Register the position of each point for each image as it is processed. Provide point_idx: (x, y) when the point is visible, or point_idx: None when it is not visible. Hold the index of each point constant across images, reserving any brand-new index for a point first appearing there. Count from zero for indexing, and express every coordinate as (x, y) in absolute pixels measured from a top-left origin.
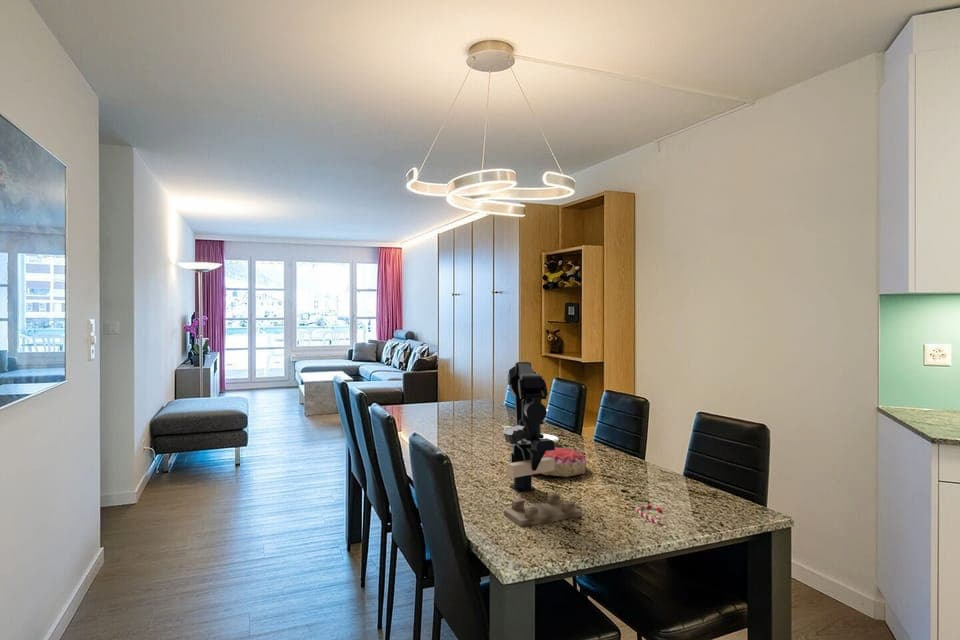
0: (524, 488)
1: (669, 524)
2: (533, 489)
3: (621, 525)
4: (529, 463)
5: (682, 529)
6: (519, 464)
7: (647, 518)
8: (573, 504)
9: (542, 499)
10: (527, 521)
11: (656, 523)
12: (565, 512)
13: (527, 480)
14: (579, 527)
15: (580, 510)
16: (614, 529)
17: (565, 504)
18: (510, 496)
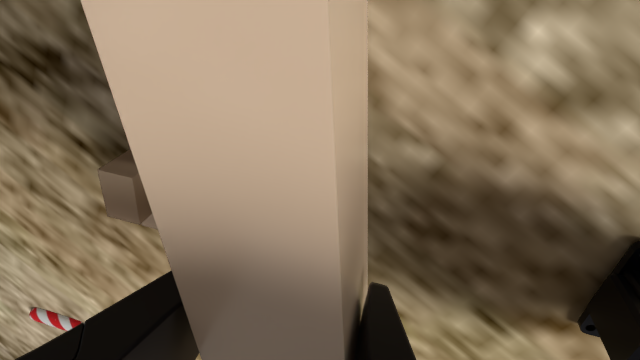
0: (614, 279)
1: (40, 327)
2: (583, 316)
3: (48, 241)
4: (176, 276)
5: (5, 319)
6: (129, 86)
7: (74, 324)
8: (109, 208)
9: (428, 246)
10: None
11: (41, 311)
12: (129, 152)
13: (624, 335)
14: (47, 115)
15: (150, 226)
16: (17, 199)
17: (104, 173)
18: (625, 148)
